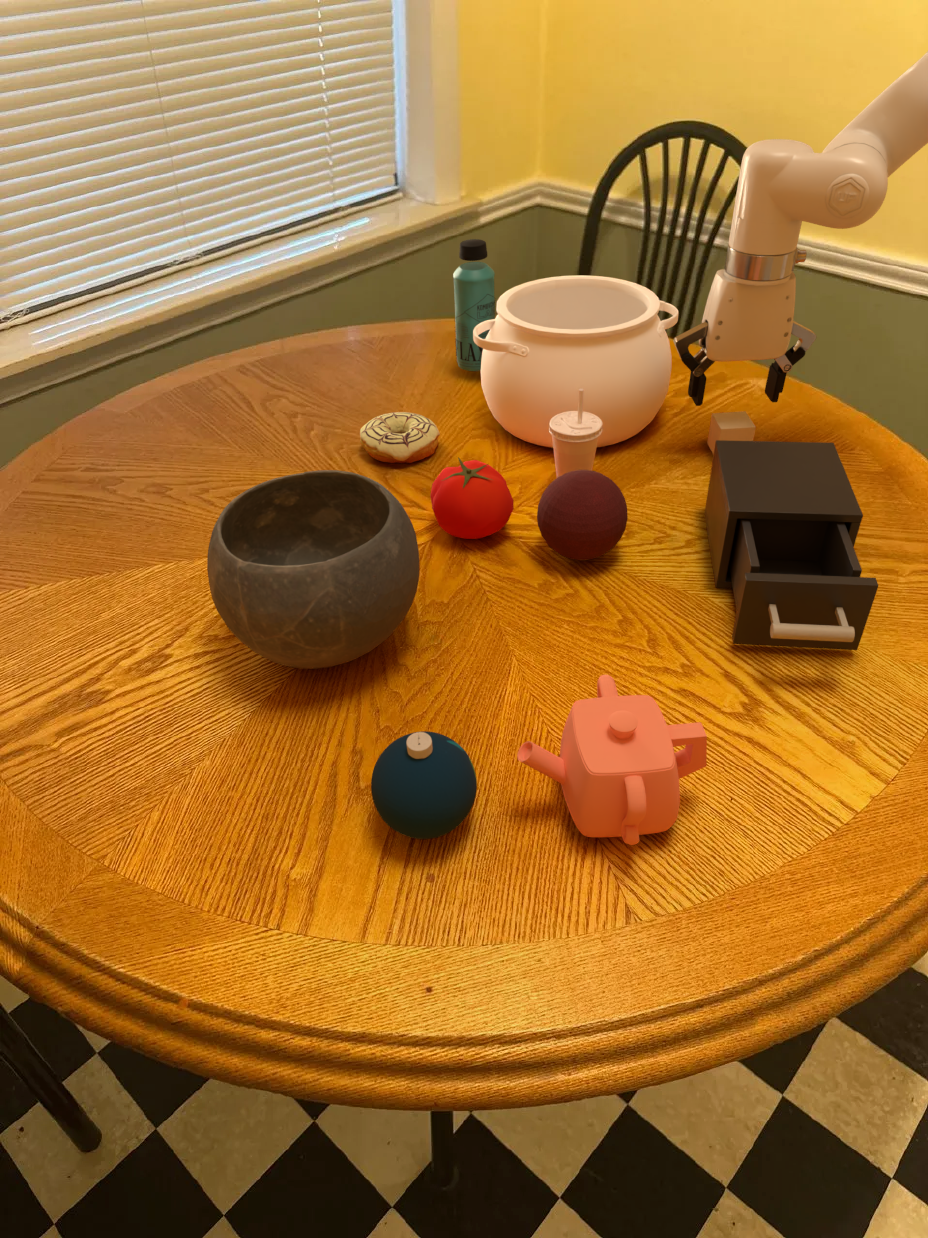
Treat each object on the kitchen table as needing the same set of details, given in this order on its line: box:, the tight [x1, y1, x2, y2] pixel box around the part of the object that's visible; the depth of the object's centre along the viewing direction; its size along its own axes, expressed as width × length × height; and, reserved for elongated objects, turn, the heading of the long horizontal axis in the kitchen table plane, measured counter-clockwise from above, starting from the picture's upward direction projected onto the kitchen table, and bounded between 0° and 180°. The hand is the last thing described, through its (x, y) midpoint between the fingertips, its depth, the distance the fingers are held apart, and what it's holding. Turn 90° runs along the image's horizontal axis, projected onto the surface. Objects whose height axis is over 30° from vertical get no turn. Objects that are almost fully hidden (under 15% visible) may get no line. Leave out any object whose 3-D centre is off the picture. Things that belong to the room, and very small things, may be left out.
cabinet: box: [704, 440, 864, 590], centre depth 94 cm, size 15×13×10 cm
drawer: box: [729, 518, 879, 651], centre depth 85 cm, size 18×12×8 cm, turn 173°
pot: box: [473, 275, 680, 449], centre depth 120 cm, size 29×26×16 cm
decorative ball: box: [536, 470, 629, 561], centre depth 96 cm, size 10×10×10 cm
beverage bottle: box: [452, 238, 497, 372], centre depth 132 cm, size 6×7×20 cm
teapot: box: [516, 674, 708, 846], centre depth 68 cm, size 12×12×10 cm
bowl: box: [206, 469, 420, 670], centre depth 85 cm, size 20×20×15 cm
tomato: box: [429, 457, 515, 540], centre depth 101 cm, size 9×10×8 cm
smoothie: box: [549, 389, 602, 478], centre depth 104 cm, size 6×6×14 cm
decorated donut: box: [359, 411, 441, 464], centre depth 118 cm, size 10×11×4 cm
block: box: [706, 410, 757, 456], centre depth 114 cm, size 4×4×4 cm
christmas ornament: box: [370, 730, 478, 840], centre depth 68 cm, size 8×8×10 cm
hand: (733, 399), depth 111 cm, fingers open, 9 cm apart
